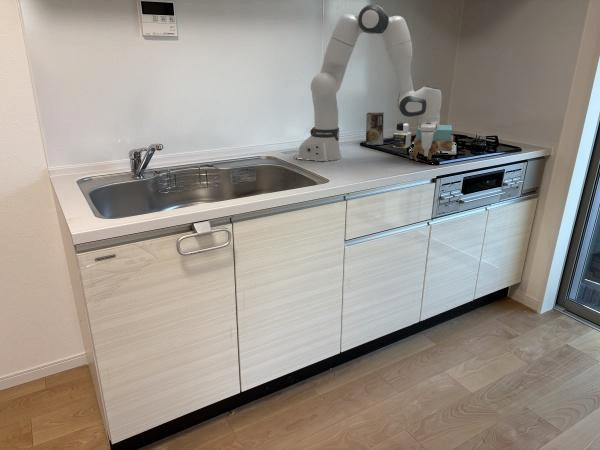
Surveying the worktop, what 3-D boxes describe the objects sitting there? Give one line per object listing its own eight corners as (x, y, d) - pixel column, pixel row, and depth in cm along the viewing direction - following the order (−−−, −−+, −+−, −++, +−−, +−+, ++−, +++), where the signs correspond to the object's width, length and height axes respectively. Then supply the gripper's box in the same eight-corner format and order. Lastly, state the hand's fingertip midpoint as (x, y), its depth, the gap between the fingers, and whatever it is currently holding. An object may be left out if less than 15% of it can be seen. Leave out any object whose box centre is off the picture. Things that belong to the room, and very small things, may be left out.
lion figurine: (438, 159, 205) (440, 139, 202) (439, 161, 200) (441, 141, 197) (405, 158, 207) (407, 139, 204) (406, 161, 202) (408, 141, 199)
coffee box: (383, 142, 242) (384, 112, 236) (382, 144, 236) (383, 114, 230) (366, 142, 244) (367, 112, 238) (365, 144, 238) (366, 113, 232)
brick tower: (408, 152, 219) (410, 130, 214) (412, 143, 238) (414, 123, 234) (455, 154, 212) (458, 131, 208) (456, 145, 231) (458, 124, 227)
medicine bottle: (392, 147, 231) (393, 123, 226) (397, 144, 236) (399, 121, 232) (405, 148, 227) (406, 124, 222) (410, 145, 232) (412, 122, 228)
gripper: (423, 120, 207) (421, 149, 213) (420, 127, 189) (417, 159, 195) (437, 120, 205) (434, 149, 211) (435, 128, 187) (432, 160, 193)
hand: (426, 154), depth 202 cm, fingers open, 4 cm apart
